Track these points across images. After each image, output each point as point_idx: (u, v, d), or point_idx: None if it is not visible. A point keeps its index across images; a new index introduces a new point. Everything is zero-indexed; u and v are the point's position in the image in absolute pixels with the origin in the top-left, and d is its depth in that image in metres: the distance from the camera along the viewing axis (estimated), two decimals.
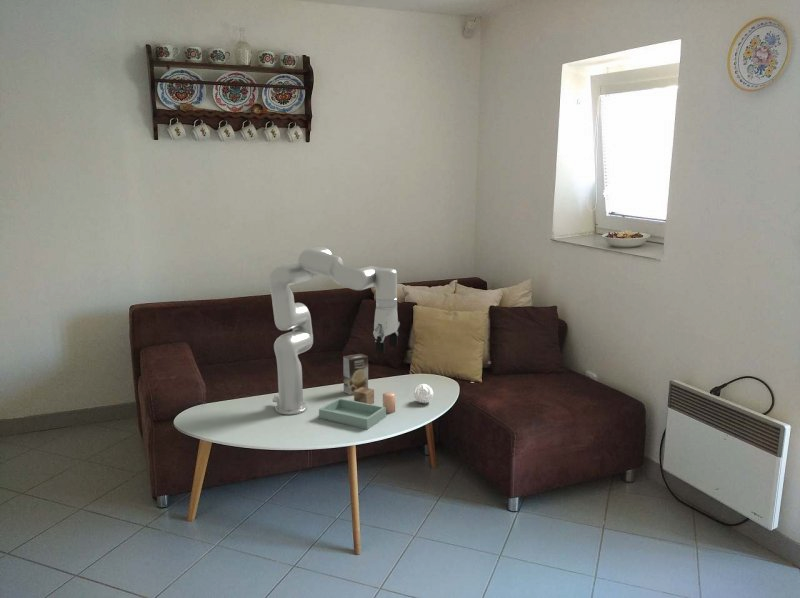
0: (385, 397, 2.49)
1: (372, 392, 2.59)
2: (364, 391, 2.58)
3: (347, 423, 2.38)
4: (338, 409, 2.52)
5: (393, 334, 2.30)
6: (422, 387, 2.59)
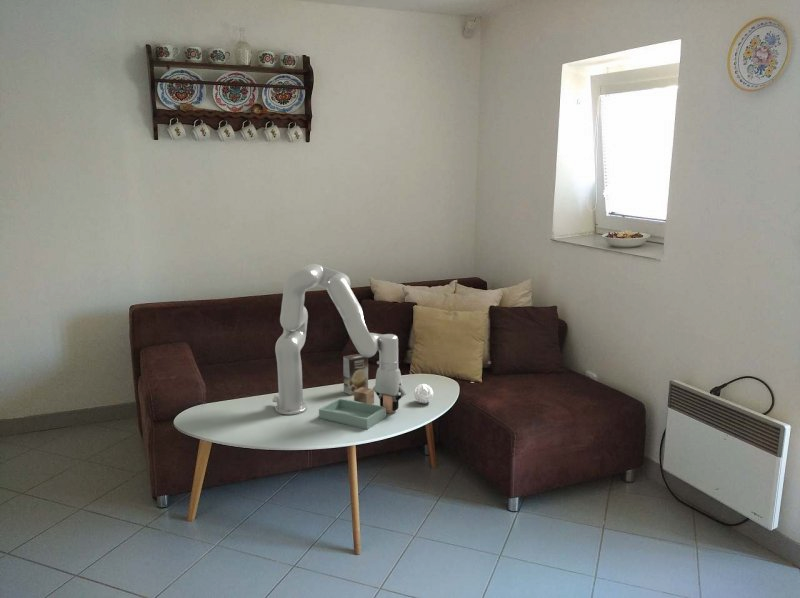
0: (385, 397, 2.49)
1: (372, 392, 2.59)
2: (364, 391, 2.58)
3: (347, 423, 2.38)
4: (338, 409, 2.52)
5: None
6: (422, 387, 2.59)
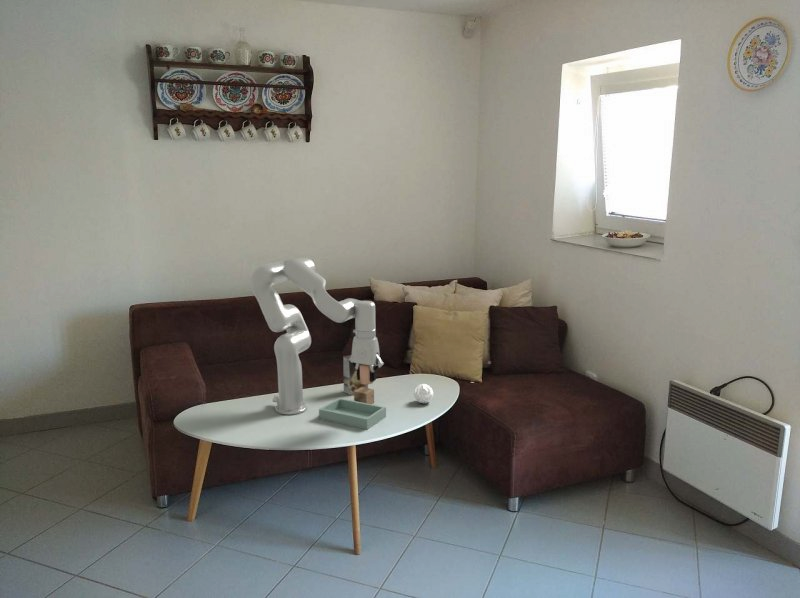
0: (362, 367, 2.36)
1: (372, 392, 2.59)
2: (364, 391, 2.58)
3: (347, 423, 2.38)
4: (338, 409, 2.52)
5: None
6: (422, 387, 2.59)
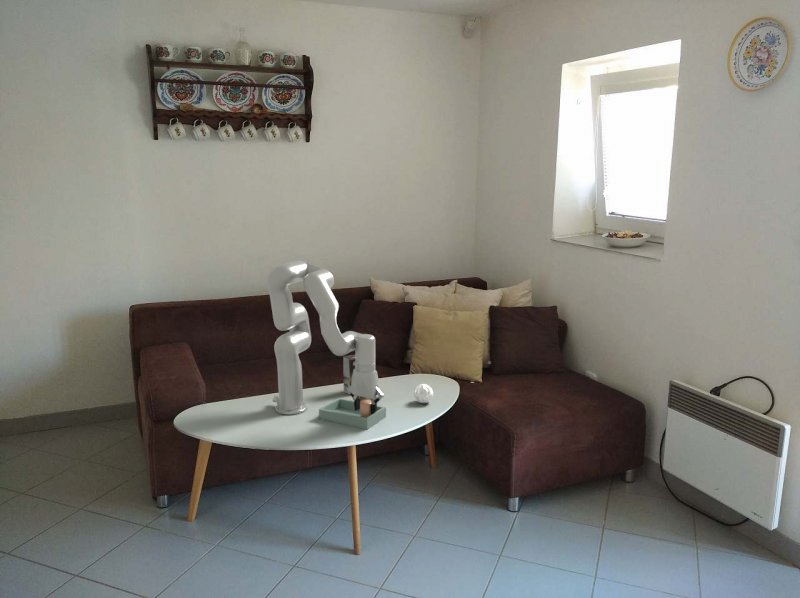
0: (362, 405, 2.39)
1: None
2: None
3: (347, 423, 2.38)
4: (338, 409, 2.52)
5: (357, 398, 2.42)
6: (422, 387, 2.59)
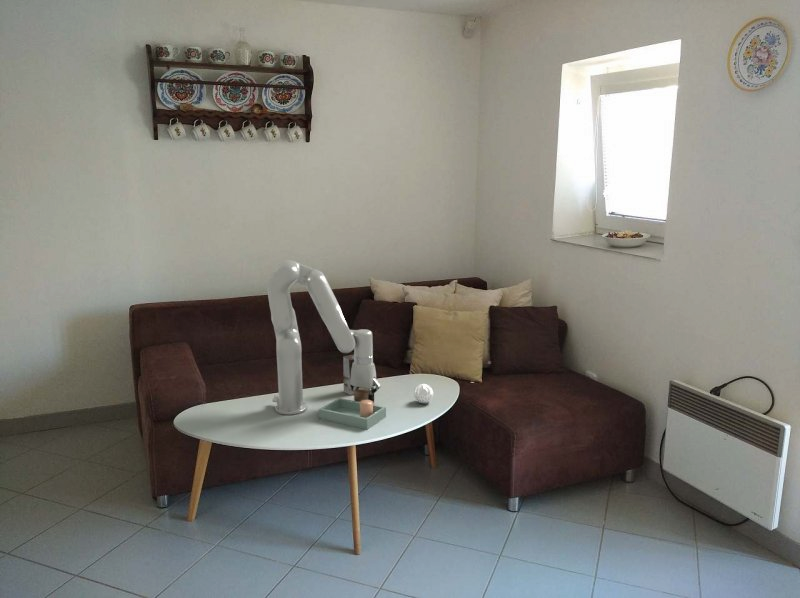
0: (362, 405, 2.39)
1: None
2: (364, 391, 2.58)
3: (347, 423, 2.38)
4: (338, 409, 2.52)
5: None
6: (422, 387, 2.59)
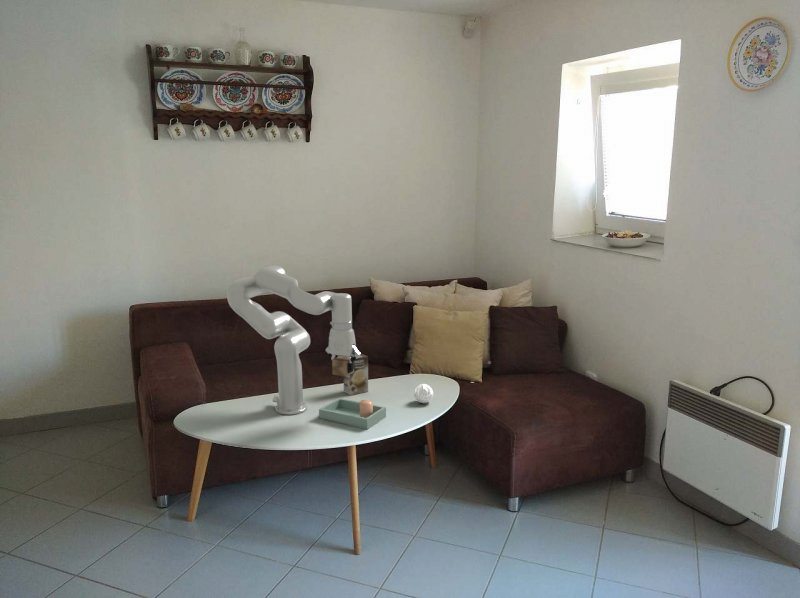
0: (362, 405, 2.39)
1: None
2: (343, 359, 2.41)
3: (347, 423, 2.38)
4: (338, 409, 2.52)
5: (336, 357, 2.44)
6: (422, 387, 2.59)
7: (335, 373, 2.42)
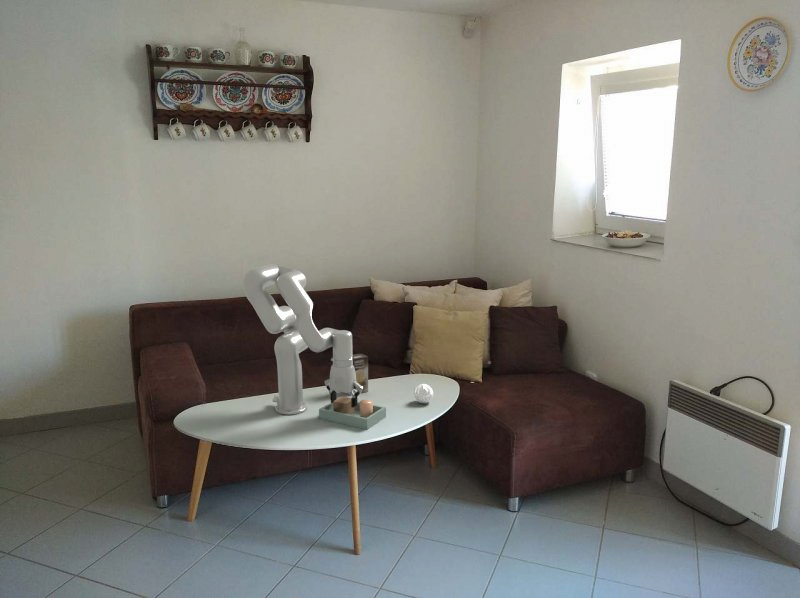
0: (363, 405, 2.39)
1: None
2: (344, 401, 2.44)
3: (347, 423, 2.38)
4: None
5: (333, 391, 2.48)
6: (422, 387, 2.59)
7: None
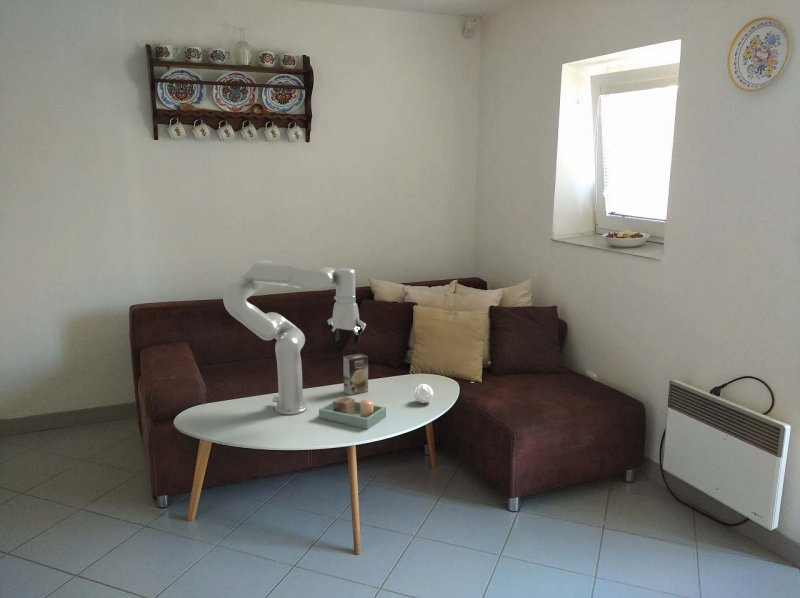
0: (364, 405, 2.38)
1: (352, 402, 2.46)
2: (344, 401, 2.44)
3: (347, 423, 2.38)
4: None
5: (336, 330, 2.49)
6: (422, 387, 2.59)
7: None
